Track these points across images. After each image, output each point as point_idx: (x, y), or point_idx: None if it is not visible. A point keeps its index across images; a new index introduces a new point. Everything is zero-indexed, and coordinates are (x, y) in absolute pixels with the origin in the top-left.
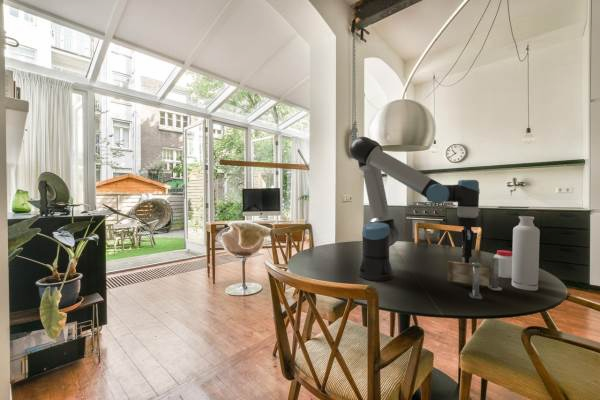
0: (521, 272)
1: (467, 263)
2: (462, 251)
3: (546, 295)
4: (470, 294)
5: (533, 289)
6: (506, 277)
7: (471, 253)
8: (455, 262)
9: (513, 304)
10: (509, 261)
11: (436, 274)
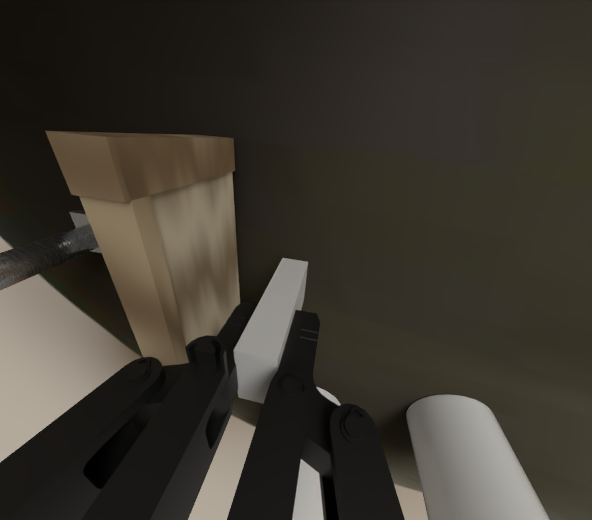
0: None
1: (152, 316)
2: (348, 434)
3: (247, 409)
4: (85, 216)
5: None
6: (407, 411)
7: (105, 447)
8: (110, 222)
9: (118, 315)
10: (429, 516)
11: (419, 57)
